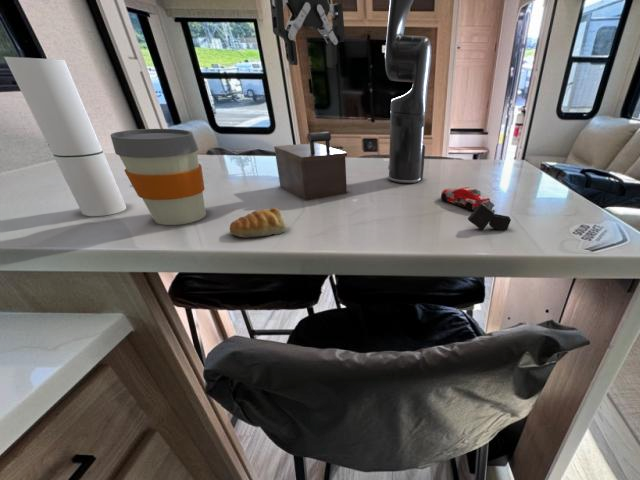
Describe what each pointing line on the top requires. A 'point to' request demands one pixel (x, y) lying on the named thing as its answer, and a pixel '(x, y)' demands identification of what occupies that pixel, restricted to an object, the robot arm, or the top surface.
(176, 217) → the reusable coffee cup
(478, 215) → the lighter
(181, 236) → the top surface
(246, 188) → the top surface
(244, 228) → the pastry
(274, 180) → the top surface
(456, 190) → the race car
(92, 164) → the cylindrical container
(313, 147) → the lid
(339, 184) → the chest
